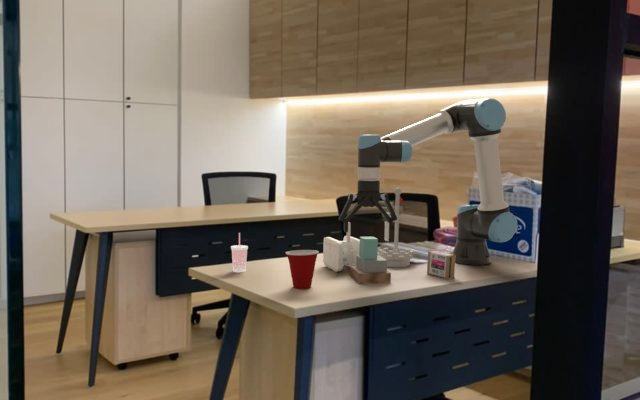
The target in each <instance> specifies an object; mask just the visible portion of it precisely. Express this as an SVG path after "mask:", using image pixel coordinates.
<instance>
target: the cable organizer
mask: <svg viewBox="0 0 640 400" xmlns="http://www.w3.org/2000/svg"><path fill="white" fill-rule="evenodd" d="M346 238H347V235H344V237H343V240H338V239H335V238H333V237H331V236H326V237H325V236H324V237H323V245H322V246H323V248H322V249H323V251H322V252H323V253H322V255H323V256H322V257H323V259H322V261H323V262H322V263H323V265H324V266H326V268H327V269H331V270H332V271H333V272H335V273H339V272H342V271H343V269H344V268H345V266H347V268H348V267H349V268H350V266H356V256H357V255H359V248H360V238H357V237H354V236H351V235H350V242H347V241H346Z"/></svg>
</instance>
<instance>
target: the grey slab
mask: <svg viewBox="0 0 640 400" xmlns="http://www.w3.org/2000/svg"><path fill="white" fill-rule="evenodd" d="M356 267H358V268H359V269H360V270H362V271H363V272H364V273H371V272H387V271H388V266H387V260H386V259H384V258H383V257H381V256H379V254H377V259H362V258H361V257H359V255H357V256H356Z"/></svg>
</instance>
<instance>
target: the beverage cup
mask: <svg viewBox="0 0 640 400" xmlns="http://www.w3.org/2000/svg"><path fill="white" fill-rule="evenodd" d="M248 249H249V246H248V245H245V244H244V245H243V244H241V232H238V245H237V244H236V245H235V244H234V245H231V246H230V250H231V259H232V260H231V261H232V271H233V273H245V272H246V271H247V258H248Z"/></svg>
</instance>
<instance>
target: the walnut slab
mask: <svg viewBox="0 0 640 400" xmlns="http://www.w3.org/2000/svg"><path fill="white" fill-rule="evenodd" d="M349 276H350V277H351V278H352V279H353V280H354V281H355V282H356V283H357V284H359V285H365V284H366V285H369V284H391V281H392V273H391V272H390V271H389V270H387V272H371V273H364V272H363V271H362V270H360V269H359V268H358V267H356V266H350V267H349Z"/></svg>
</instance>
